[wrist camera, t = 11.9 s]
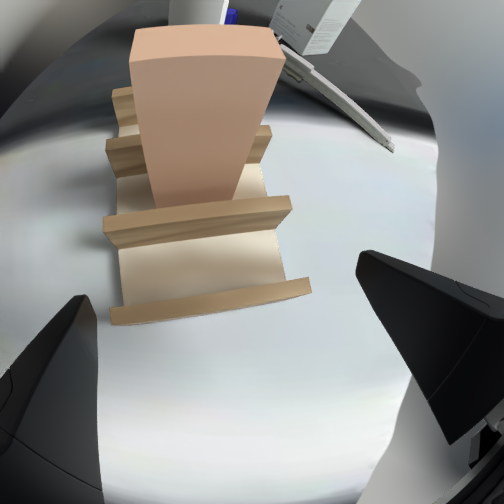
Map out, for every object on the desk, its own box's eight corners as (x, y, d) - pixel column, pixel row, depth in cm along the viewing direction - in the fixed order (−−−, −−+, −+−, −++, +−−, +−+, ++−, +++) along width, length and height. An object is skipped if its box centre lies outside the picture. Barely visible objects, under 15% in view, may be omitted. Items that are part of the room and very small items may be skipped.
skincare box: (267, 29, 31) (296, -50, 17) (296, 26, 33) (327, -43, 19) (303, 58, 31) (345, -26, 17) (331, 55, 32) (374, -18, 18)
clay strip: (229, 207, 22) (286, 59, 8) (158, 215, 20) (129, 62, 7) (224, 179, 22) (270, 27, 9) (156, 186, 21) (135, 29, 7)
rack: (285, 300, 22) (312, 292, 17) (129, 325, 19) (111, 325, 14) (243, 115, 25) (254, 79, 21) (121, 126, 22) (113, 89, 18)
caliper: (244, 67, 28) (256, 27, 22) (249, 64, 28) (260, 24, 22) (391, 154, 29) (423, 126, 23) (393, 148, 30) (423, 121, 24)
